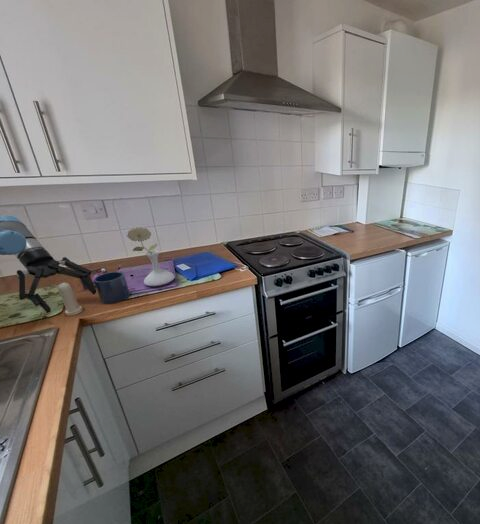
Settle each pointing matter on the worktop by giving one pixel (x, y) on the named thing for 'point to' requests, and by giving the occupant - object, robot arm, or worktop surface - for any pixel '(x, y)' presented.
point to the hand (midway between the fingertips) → (73, 301)
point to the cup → (112, 287)
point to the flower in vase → (157, 274)
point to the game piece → (69, 299)
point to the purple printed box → (95, 275)
